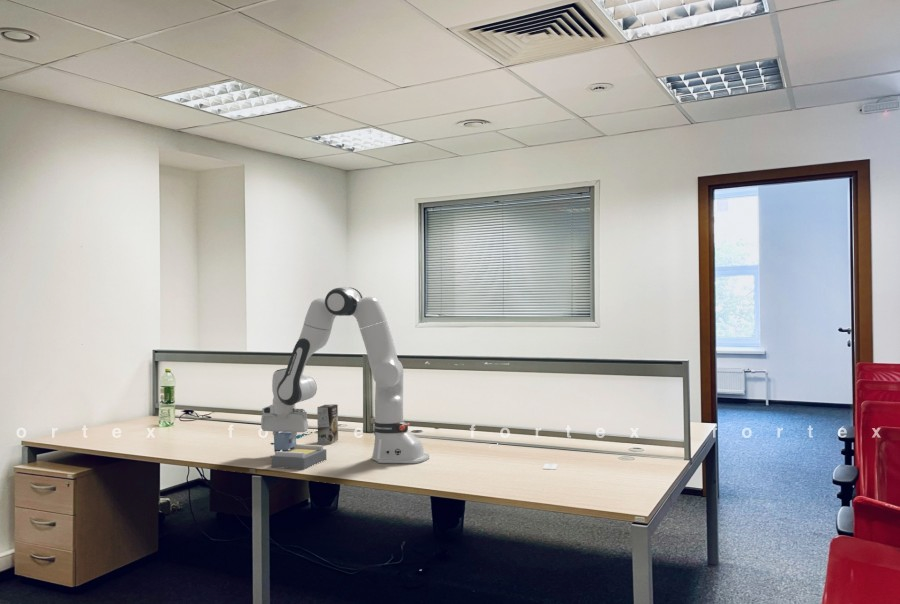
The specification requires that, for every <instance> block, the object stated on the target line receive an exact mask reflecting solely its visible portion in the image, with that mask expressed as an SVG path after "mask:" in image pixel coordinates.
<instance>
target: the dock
mask: <svg viewBox="0 0 900 604" xmlns="http://www.w3.org/2000/svg"><path fill="white" fill-rule="evenodd" d="M294 446H295V448H293V449H288V451H285V452H283V451H282V450H280V451H276V452H275V451H274V455H271V468H277V467H284V468H283V469H291V468H294V469H295V470H306V469H308V467H309V468H311V467H313V466H315V465H314V464H316V465H318V464H320V463H322V462H324V460H325V461H327V449H324V445H321V444H317V445H316V444H298V443H296V444H295V445H294ZM321 461H322V462H321ZM319 462H320V463H319ZM317 463H318V464H317ZM312 465H313V466H312ZM310 466H311V467H310Z"/></svg>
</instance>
